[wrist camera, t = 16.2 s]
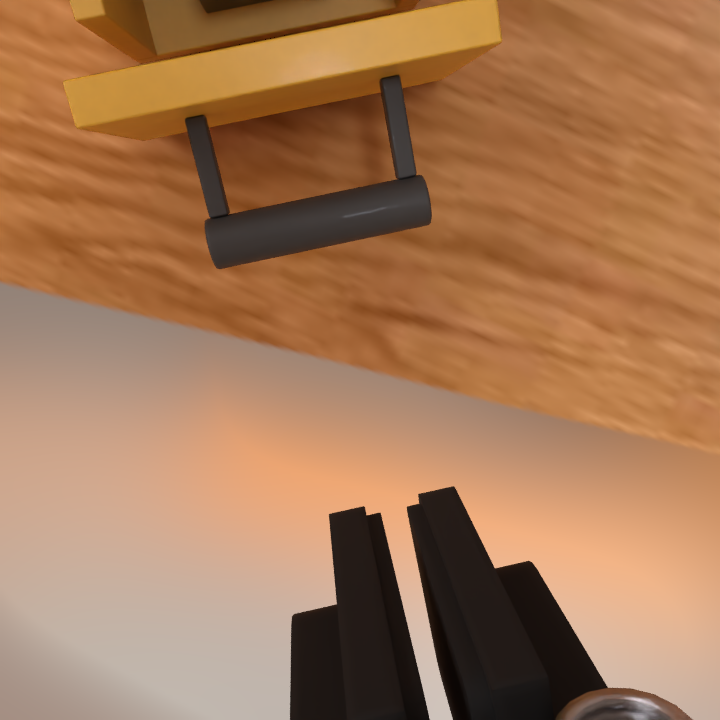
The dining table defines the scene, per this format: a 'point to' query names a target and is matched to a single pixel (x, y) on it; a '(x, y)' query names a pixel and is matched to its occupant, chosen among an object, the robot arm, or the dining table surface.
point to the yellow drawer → (277, 96)
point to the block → (226, 4)
